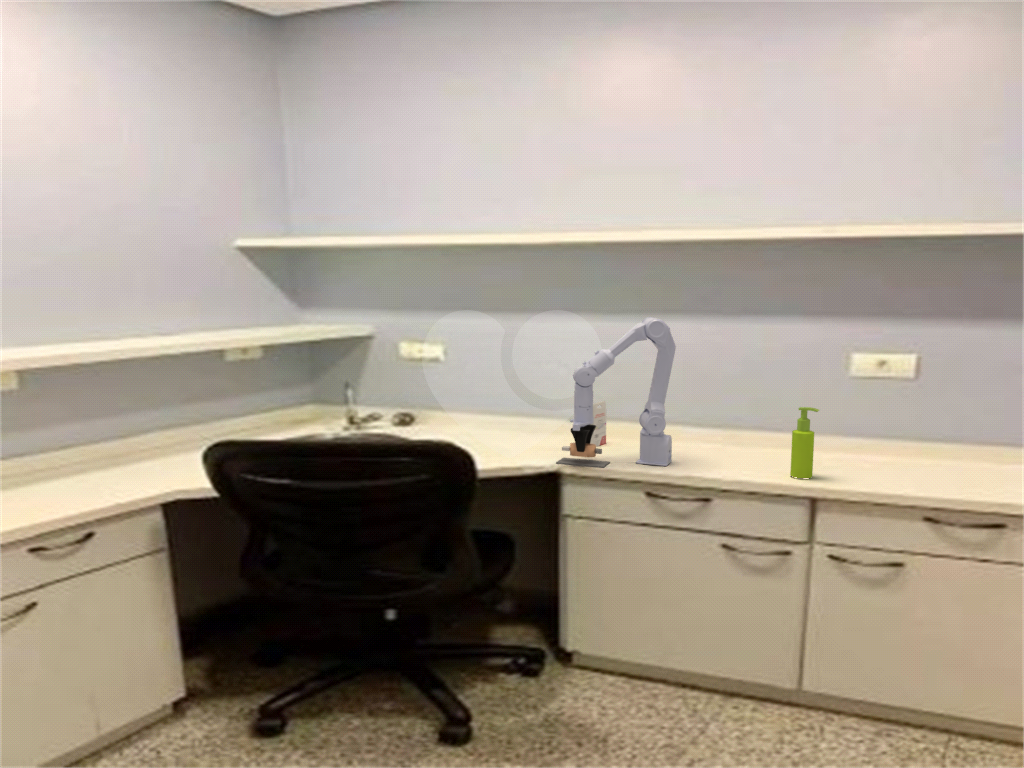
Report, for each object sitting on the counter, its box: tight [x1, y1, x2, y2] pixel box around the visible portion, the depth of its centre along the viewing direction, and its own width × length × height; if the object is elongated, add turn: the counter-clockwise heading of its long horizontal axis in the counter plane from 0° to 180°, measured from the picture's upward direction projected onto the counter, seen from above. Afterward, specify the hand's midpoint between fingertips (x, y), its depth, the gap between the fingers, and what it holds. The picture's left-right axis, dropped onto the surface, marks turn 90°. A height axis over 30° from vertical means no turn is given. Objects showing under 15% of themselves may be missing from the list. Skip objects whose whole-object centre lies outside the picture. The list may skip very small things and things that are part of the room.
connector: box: [561, 442, 603, 458], centre depth 253 cm, size 12×4×3 cm, turn 67°
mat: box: [555, 457, 611, 469], centre depth 253 cm, size 15×7×1 cm, turn 67°
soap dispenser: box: [789, 406, 820, 478], centre depth 234 cm, size 6×7×20 cm
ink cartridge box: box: [590, 400, 607, 447], centre depth 279 cm, size 9×5×15 cm, turn 143°
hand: (583, 450), depth 253 cm, fingers closed on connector, 4 cm apart
